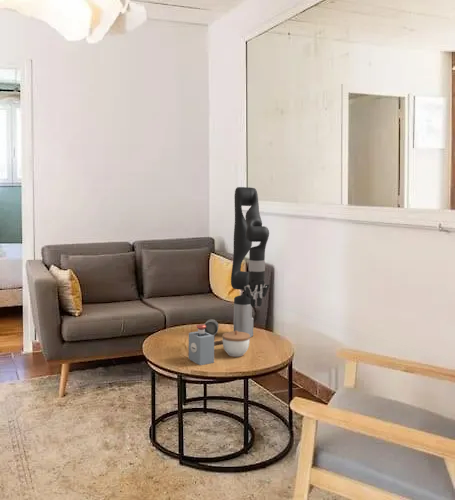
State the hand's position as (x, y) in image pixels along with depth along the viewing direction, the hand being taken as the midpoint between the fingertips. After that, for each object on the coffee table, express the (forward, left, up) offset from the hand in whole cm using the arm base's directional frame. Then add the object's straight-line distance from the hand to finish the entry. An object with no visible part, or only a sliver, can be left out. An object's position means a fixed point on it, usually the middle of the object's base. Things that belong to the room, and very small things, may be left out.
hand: (256, 306), depth 273 cm
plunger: (+29, 0, -11) cm, 31 cm away
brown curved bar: (+15, -9, -21) cm, 27 cm away
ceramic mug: (+4, -35, -21) cm, 42 cm away
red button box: (+29, 0, -21) cm, 36 cm away
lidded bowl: (+11, 0, -21) cm, 24 cm away
